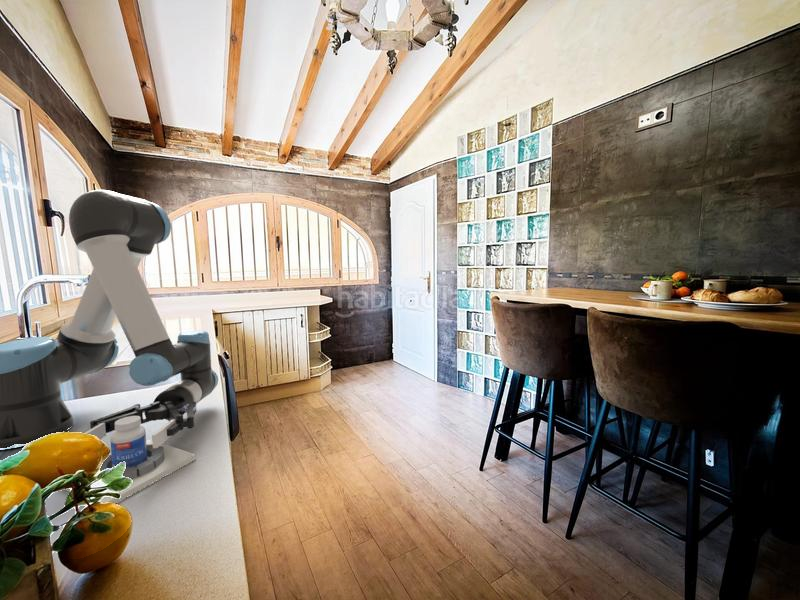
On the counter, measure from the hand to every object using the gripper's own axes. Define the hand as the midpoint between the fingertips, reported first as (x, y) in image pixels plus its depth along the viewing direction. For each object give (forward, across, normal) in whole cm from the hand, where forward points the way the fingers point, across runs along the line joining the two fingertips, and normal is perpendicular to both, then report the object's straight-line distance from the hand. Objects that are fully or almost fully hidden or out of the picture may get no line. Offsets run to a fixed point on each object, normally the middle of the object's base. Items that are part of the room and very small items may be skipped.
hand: (115, 443), depth 62 cm
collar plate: (-3, 0, -8) cm, 8 cm away
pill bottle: (-3, 0, -7) cm, 7 cm away
